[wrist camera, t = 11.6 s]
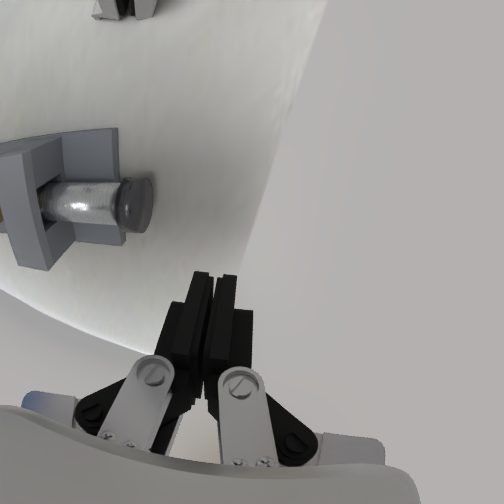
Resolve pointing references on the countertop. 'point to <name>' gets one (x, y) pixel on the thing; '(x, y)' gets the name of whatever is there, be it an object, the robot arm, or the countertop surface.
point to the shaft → (99, 203)
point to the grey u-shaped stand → (54, 171)
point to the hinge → (123, 8)
